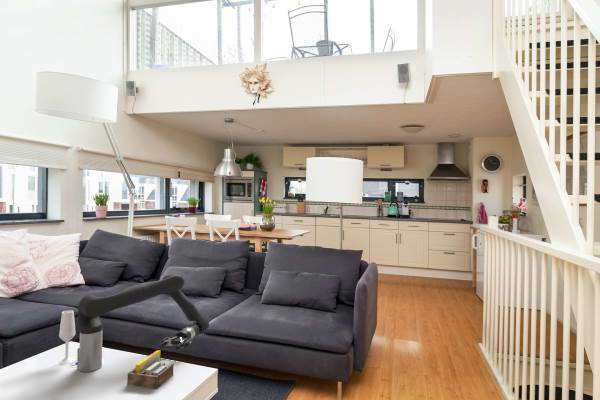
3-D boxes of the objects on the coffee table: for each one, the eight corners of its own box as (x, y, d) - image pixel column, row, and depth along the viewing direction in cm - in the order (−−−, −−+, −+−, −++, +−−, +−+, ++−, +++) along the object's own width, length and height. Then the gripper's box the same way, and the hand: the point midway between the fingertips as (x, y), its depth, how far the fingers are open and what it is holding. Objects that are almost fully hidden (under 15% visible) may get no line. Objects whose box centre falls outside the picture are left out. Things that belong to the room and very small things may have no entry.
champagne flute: (54, 363, 174) (56, 312, 174) (68, 357, 180) (69, 309, 180) (65, 365, 172) (66, 314, 172) (78, 359, 178) (79, 310, 178)
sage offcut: (145, 383, 156) (145, 369, 156) (156, 375, 164) (156, 361, 164) (149, 384, 156) (149, 370, 156) (160, 375, 164) (160, 362, 164)
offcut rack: (127, 385, 155) (127, 373, 155) (145, 371, 167) (145, 360, 167) (157, 389, 152) (157, 377, 152) (173, 375, 164) (173, 364, 164)
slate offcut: (153, 385, 155) (153, 372, 155) (162, 377, 162) (162, 365, 162) (157, 385, 154) (157, 372, 155) (166, 378, 161) (166, 365, 161)
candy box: (138, 384, 156) (139, 364, 156) (134, 383, 156) (134, 364, 156) (160, 367, 171) (160, 350, 172) (156, 367, 172) (156, 349, 172)
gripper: (173, 327, 197) (155, 338, 181) (197, 330, 194) (181, 341, 179) (173, 341, 197) (155, 353, 181) (197, 344, 194) (181, 356, 179)
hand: (168, 347), depth 180 cm, fingers open, 8 cm apart
